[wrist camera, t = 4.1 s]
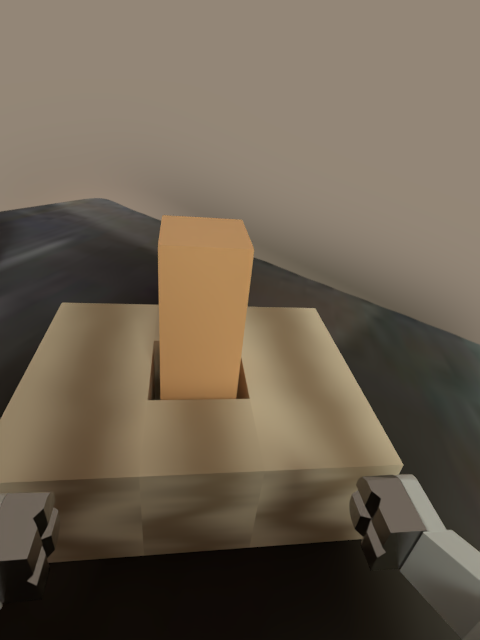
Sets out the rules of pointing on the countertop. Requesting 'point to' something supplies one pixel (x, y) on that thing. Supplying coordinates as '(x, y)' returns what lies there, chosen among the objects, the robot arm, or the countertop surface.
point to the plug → (202, 305)
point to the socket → (189, 438)
